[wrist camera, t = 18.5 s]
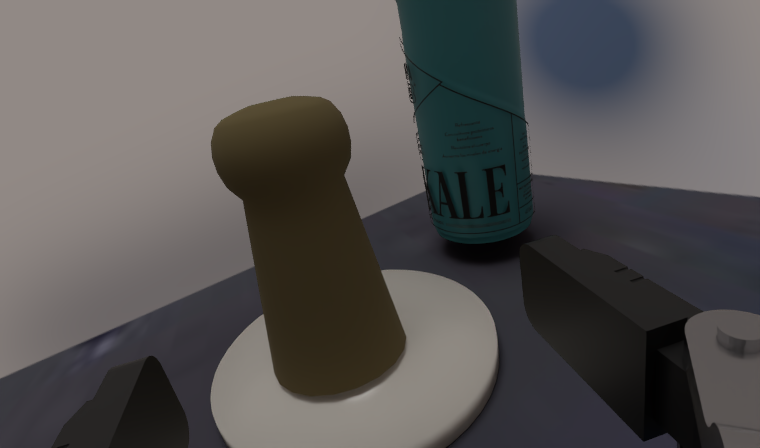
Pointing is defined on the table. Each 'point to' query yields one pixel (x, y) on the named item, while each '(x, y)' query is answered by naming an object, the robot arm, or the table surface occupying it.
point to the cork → (309, 245)
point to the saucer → (380, 396)
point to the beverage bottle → (469, 115)
